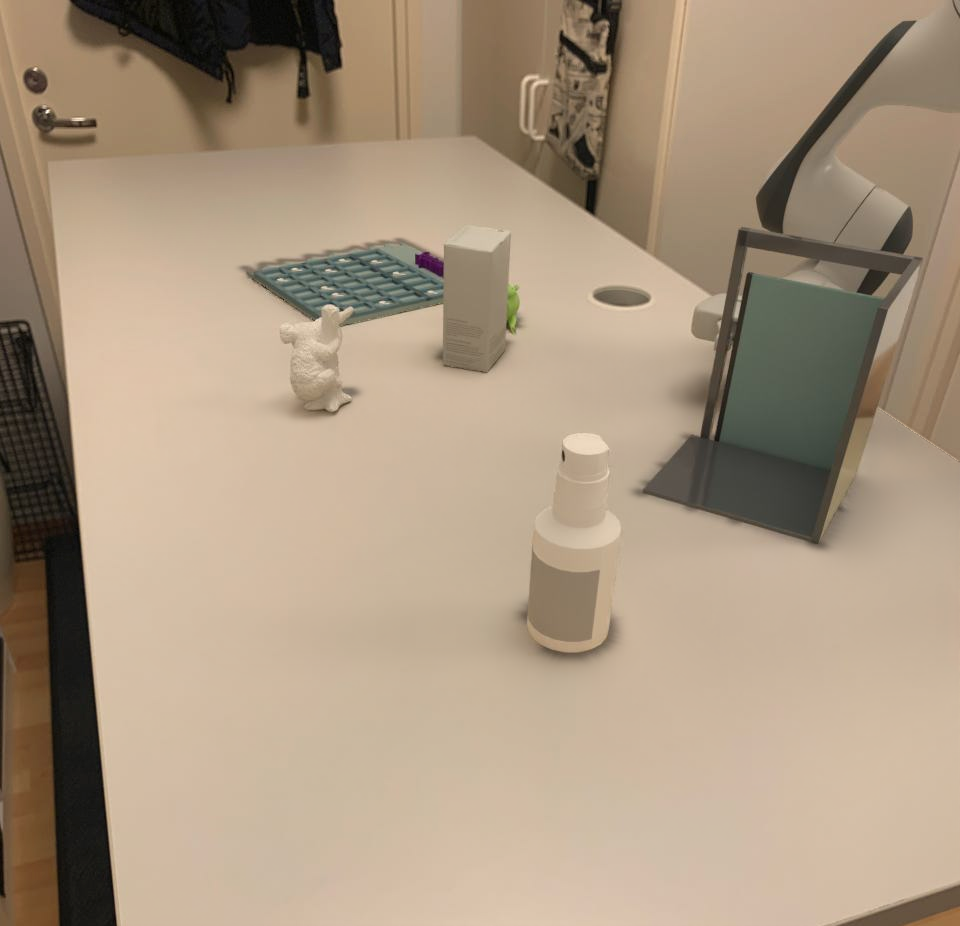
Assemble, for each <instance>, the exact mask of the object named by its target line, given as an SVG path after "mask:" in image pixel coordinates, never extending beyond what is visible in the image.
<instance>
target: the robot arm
mask: <svg viewBox="0 0 960 926" xmlns="http://www.w3.org/2000/svg"><path fill="white" fill-rule="evenodd" d="M883 106H884V107H885V106H904V107H915V108H921V109H926V110H930V111H934V112H940V113H946V114H960V0H944V1H942V3H941V4H940V5H939V6H938V7H937V8H935V10H933V11H932V12H930V13H929V14H928V15H926V16H924V17H922V18H921V19H919V20H916V19H915V20H914V19H913V20H903V21H901V22H900V23H898V24H896V25H895V26H894V27H893V28H892V29H890V30H889V31H888V32H887V33H886V34H885V35H884V36H883V37H882V38H881V39H880V40H879V41H878V42H877V44H875V46H874V47H873V48H872V49H871V51H870V52H869V53H868V54H867V55H866V56H865V58H864V59H863V60H862V61H861V63H859V65H858V66H857V67H856V68H855V70H854V71H853V72H852V73H851V75H849V77H848V78H847V79H846V81H845V82H844V83H843V85H842V86H841V87H840V88H839V90H838V91H837V92H836V93H835V95H833V96H832V98H831V99H830V101H829V102H828V103H827V105H826V106H825V107H824V108H823V109H822V111H821V112H819V115H818V116H817V117H816V119H815V120H814V121H813V122H812V124H811V125H809V127H808V128H807V130H806V131H805V132H804V133H803V135H802V136H801V137H800V138H799V140H798V141H796V143H795V144H794V145H793V146H792V147H791V148H789V150H787V151H786V152H785V153H784V154H783V155H782V156H781V157H780V158H779V159H778V160H777V161H776V162H775V163H774V164H773V165H772V167H770V169H769V170H768V172H766V173H767V174H765V176H764V178H763V180H762V181H761V183H760V186H759V188H758V191H757V194H756V196H755V204H756V210H757V215H758V218H759V223H760V224H761V225H760V226H761V227H762V228H763V229H765V230H766V231H769V232H775V233H781V234H787V235H792V236H798V237H804V238H810V239H816V240H822V241H827V242H833V243H839V244H845V245H851V246H857V247H862V248H868V249H874V250H880V251H886V252H892V253H898V254H903V255H905V252H906V250H907V249H908V247H909V245H910V243H911V241H912V239H913V234H914V233H913V231H914V217H913V212H912V208H911V206H909V205H908V204H907V203H905V202H903V200H902V199H899V198H898V197H897V196H895V195H893V194H892V193H890V192H889V191H887V190H886V189H884V188H883V187H881V186H879V185H876V184H875V183H874V182H872V181H871V180H869V179H867V178H866V177H865V176H863V175H861V174H859V173H858V172H856V171H855V170H853V169H852V168H851V167H849V166H847V165H846V164H845V163H843V162H842V161H841V160H840V159H839V158H838V156H837V154H836V150H837V149H838V148H839V146H841V144H842V143H843V142H844V141H845V139H846V138H847V137H848V136H849V135H850V133H852V131H853V130H854V129H855V128H856V127H857V126H858V125H859V123H860V122H861V121H862V120H863V118H864V117H865V116H866V115H867V114H868V113H869V112H870V111H872V110H873V109H877V108H879V107H883ZM890 274H891V273H889V272H883V271H878V270H872V269H867V268H861V267H856V266H850V265H844V264H839V263H833V262H828V261H822V260H817V259H811V258H804V259H803V260H801V261H800V262H798V263H797V264H796V265H795V266H794V267H792V268H791V269H790V270H789V271H788V272H787V273H786V274H785V276H784V277H782V279H787V280H793V281H798V282H803V283H808V284H814V285H819V286H824V287H830V288H835V289H840V290H845V291H851V292H856V293H861V294H867V295H872V296H873V294H874V293H875V292H876V291H877V290H878V289H879V288H880V287H881V286H882V284H883V283H884V281H886V279H888V276H889V275H890ZM726 294H727V292H726V293H725V292H723V293H722V292H721V293H717V294H714V295H712V296H710V297H708V298H705V299H704V300H702V301H701V302H700V303H697V305H696V306H695V308H694V310H693V315H692V319H691V327H690V333H691V334H692V335H693V337H694V338H696V339H699V340H704V341H707V342H708V341H709V342H713V343H714V344H713V351H715V352H716V348H717V343H718V337H719V332H720V326H721V321H722V316H723V310H724V305H725V300H726ZM741 300H742V295H741V294H739V295H738V300H737V305H736V310H735V315H734V320H733V326H732V331H731V336H730V341H729V346H728V351H727V353H728V352H729V351H730V350H732V346H733V341H734V336H735V331H736V326H737V321H738V316H739V311H740V306H741Z"/></svg>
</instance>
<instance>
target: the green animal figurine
mask: <svg viewBox="0 0 960 926" xmlns="http://www.w3.org/2000/svg"><path fill="white" fill-rule="evenodd" d="M519 289H520V286H519V285H518V284H515V285H514V286H512V285H511V284H509V283H508V300H507V320H506V324H507V325H508V327H509V329H510V331H511V332H512V334H514V333H516V334H517V329H516V327H515V326H516V325H517V320H518V319H517V316H516V314H517V313H518V311H519V310H520V309H519V308H520V304H521V301H520V297H519V294H518V293H517V291H519Z"/></svg>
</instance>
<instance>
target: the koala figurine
mask: <svg viewBox="0 0 960 926" xmlns="http://www.w3.org/2000/svg"><path fill="white" fill-rule="evenodd" d="M339 311H340V310H339V308H338V307H335V306H334V305H330V304H329V305H325V306H324V307H323V308H322V309H321V312H322V317H320V318H319V319H316V320H315V321H314V320H312V321H306V322H305V321H303V322H302V321H301V322H297V323H294V324H293V325H292V324H290V323H288V322H283V323H282V324H281V325H280V327H279V337H280V341H282V343H283V344H285V345H288V344H291V346H292V348H293V349H292V354H291V356H290V357H291V358H290V372H289V373H290V375H289V381H290V385H291V389H292V391H293V393H294V394H295V395H296V397H298V398H299V399H301V400H303V401H306V403H305V405H304V409H305V410H306V411H320V410H326V411H327V412H330V413H334V412H336V411H338V410H339V408H340V406H342V405H344V404H346V403H350V402H352V401H353V397H352V396H351V395H350V394H347V393H345V392H343V390H342V386H343V385H342V384H343V380H342V377H341V373H340V370H339V369H340V367H339V363H340V362H339V356H338V351H339V350H340V348H341V345H342V341H343V332H342V329H341V327H339V325H340V324H341V323H343V321H344V320H345V319H346V318H348V317H349V316H350V315H351V314H352V313H353V311H354V309H353V308H352V307H349V308H347V309H345V310H344V311H342V312H339Z"/></svg>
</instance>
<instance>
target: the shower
mask: <svg viewBox="0 0 960 926" xmlns="http://www.w3.org/2000/svg"><path fill="white" fill-rule="evenodd" d="M734 246H735V247H734V251H733V257H732V262H731V267H730V272H729V273H730V274H729V278H728V284H727V289H726V293H727V294H726V300H725V305H724V310H723V316H722V321H721V326H720V332H719V337H718V343H717V348H716V351H715V353H714V359H713V364H712V370H711V376H710V379H709V380H710V381H709V385H708V391H707V397H706V402H705V407H704V413H703V419H702V424H701V429H700V434H699V436H698V435H694V434H691V435H690V436H689V437H688V438H687V439H686V440H685V441H684V443H682V444H681V446H680V447H679V448H678V449H677V450H676V452H675V453H674V454H673V455H672V456H671V457H670V458H669V459H668V460H667V462H665V464H664V465H663V466H662V467H661V468H660V469H659V471H658V472H657V473H656V474H655V475H654V476H653V477H652V478H651V480H650V481H648V483H647V484H646V485H645V486H644V488H642V494H645V495H649V496H652V497H656V498H659V499H663V500H666V501H670V502H672V503H673V502H674V503H677V504H680V505H683V506H686V507H690V508H693V509H696V510H700V511H704V512H706V513H707V512H708V513H710V514H714V515H717V516H721V517H724V518H727V519H731V520H735V521H737V522H741V523H745V524H748V525H751V526H755V527H758V528H761V529H765V530H769V531H772V532H776V533H778V534H782V535H786V536H789V537H791V538H796V539H799V540H802V541H806V542H809V543H813V544H816V545H820V542H821V540H822V539H823V537H824V535H825V533H826V532H827V530H828V528H829V526H830V524H831V523H832V520H833V519H834V517H835V515H836V513H837V511H838V510H839V508H840V506H841V504H842V502H843V500H844V498H845V497H846V495H847V493H848V491H849V489H850V487H851V486H852V484H853V482H854V480H855V478H856V476H857V473H858V471H859V468H860V465H861V461H862V457H863V455H864V452H865V448H866V445H867V441H868V439H869V435H870V432H871V429H872V426H873V422H874V419H875V415H876V413H877V409H878V407H879V403H880V399H881V396H882V393H883V390H884V386H885V383H886V381H887V377H888V374H889V370H890V367H891V364H892V361H893V358H894V355H895V351H896V348H897V345H898V342H899V338H900V336H901V332H902V329H903V326H904V323H905V319H906V315H907V313H908V310H909V306H910V303H911V300H912V297H913V293H914V291H915V290H914V289H915V287H916V284H917V280H918V277H919V274H920V270H921V267H922V264H923V261H924V257H920V256H914V255H909V254H898V253H892V252H886V251H880V250H874V249H868V248H862V247H857V246H851V245H845V244H839V243H833V242H827V241H822V240H816V239H810V238H804V237H798V236H792V235H787V234H781V233H775V232H770V231H768V230H763V229H758V228H751V227H745V226H741V227H739V228H738V230H737V235H736V240H735V245H734ZM748 248H750V249H756V250H761V251H767V252H773V253H778V254H784V255H789V256H795V257H801V258H804V259H806V258H811V259H817V260H822V261H828V262H833V263H839V264H844V265H850V266H856V267H861V268H867V269H872V270H878V271H883V272H889V273H890V274H895V275H900V277H898V279H897V280H896V282H895V283H894V285H893V286H892V287H891V288H890V290H889V291H888V293H887V294H886V296H884V298H885V299H884V300H883V301H882V303H881V304H880V306H879V307H878V309H877V313H876V316H875V320H874V323H873V327H872V330H871V334H870V337H869V340H868V344H867V347H866V351H865V354H864V358H863V361H862V365H861V368H860V371H859V375H858V378H857V382H856V385H855V389H854V392H853V396H852V399H851V403H850V406H849V409H848V413H847V416H846V420H845V423H844V427H843V430H842V434H841V437H840V440H839V444H838V447H837V451H836V454H835V458H834V461H833V465H832V468H831V471H828V470H824V469H820V468H816V467H813V466H809V465H805V464H801V463H797V462H794V461H790V460H786V459H782V458H778V457H775V456H771V455H767V454H763V453H759V452H756V451H752V450H748V449H744V448H740V447H736V446H733V445H729V444H725V443H721V442H717V441H714V439H711V438H712V434H713V429H714V425H715V418H716V412H717V406H718V402H719V397H720V392H721V386H722V382H723V377H724V371H725V366H726V361H727V356H728V352H729V351H728V346H729V341H730V336H731V331H732V326H733V320H734V315H735V310H736V305H737V300H738V295H740V294H739V293H740V289H741V283H742V279H743V275H744V274H743V273H744V269H745V265H746V264H745V263H746V259H747V252H748ZM727 351H728V352H727Z"/></svg>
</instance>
